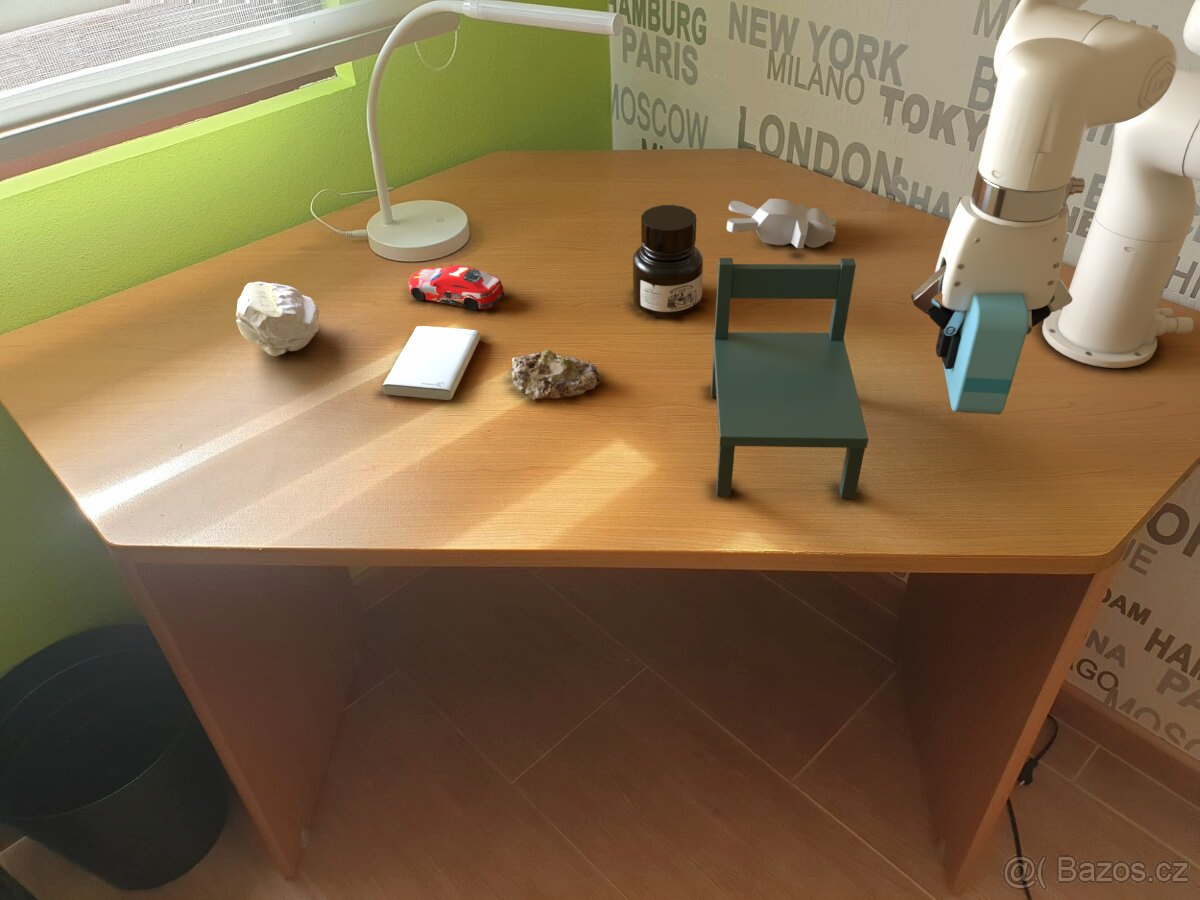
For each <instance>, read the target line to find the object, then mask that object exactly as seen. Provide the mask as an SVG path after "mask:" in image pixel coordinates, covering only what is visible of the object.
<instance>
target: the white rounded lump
mask: <svg viewBox="0 0 1200 900" xmlns="http://www.w3.org/2000/svg"><path fill="white" fill-rule="evenodd" d="M236 305H237V306H236V313H235V316H236V317H235V318H236V320H235V323H236V325H237V327H238V330H239V332H240V334H241V335H242V337H243V338H244V340H246V341H247V342H249V343H252V344H256V345H258V347H259V348H260V349H261V350H263V352H266V354H268V355H270V356H273V357H277V356H281V355H284V354H285V353H287V352H288V351H289V352H295V351H297V352H298V351H299V350H301V349H303V348H305V347H306V346H307V345H308V344H309V343H310V342H311V340H312V339H313V337H314V336H316V333H318V332H319V330H320V327H319V323H318V321H319V315H320V309H319V308H318V306H317V304H316V303H315V302H314V301H313V299H312V297H310V296H307V295H304V294H302V293H301V292H300V290H298V289H297V288H296V287H294V286H293V287H292V286H289V285H285V284H281V283H275V282H273V283H268V282H265V281H255V282H249V283H247V284H246V285H245V286H244V288H243V290H242V292H241V295H240V296H239V298H238V299H237V304H236Z"/></svg>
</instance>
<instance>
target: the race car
mask: <svg viewBox="0 0 1200 900" xmlns="http://www.w3.org/2000/svg"><path fill="white" fill-rule="evenodd" d="M407 284H408V285H407V286H408V289H409V294H410V295H411V296H412V297H413V298H414V299H415V300H417V301H419V302H422V301H424V300H426V301H432V302H437V303H442V304H448V305H454V306H459V307H466V308H467V309H468V310H469V311H473V312H474V311H476V310H477V309H479V310H483V309H488V308H492V307H494V306H496V305H497V303H498V302H499V301H500V300H501V299H502V297H503V296H505V293H504V292H505V291H504V285H503V283H502V281H501V279H500V278H499V277H498V276H495V275H493V274H490V273H488V272H485V271H482V270H481V269H480V270H479V269H476V268H473V267H471V266H464V265H459V264H458V265H453V264H450V265H449V266H447V267H428V268H423V269H420V270H418V271H416V272H414V273H412V274H411V275H410V277H409V279H408V283H407Z"/></svg>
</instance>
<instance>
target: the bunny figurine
mask: <svg viewBox="0 0 1200 900" xmlns="http://www.w3.org/2000/svg"><path fill="white" fill-rule="evenodd" d="M728 210H729V211H730V212H733V213H737V214H740V215H744V216H746V217H747V216H748V217H747V218H746V217H732V218H728V219H727V222H726V230H727V232H730V233H731V234H738V233H744V232H749V231H750V232H751V231H755V232H756V233H757V236H758V237H759V239H760V240H761V242H762V243H764V244H769V245H774V246H785V245H788V244H792V245H793V246H794V247H795V248H796V249H804V247H805V245H806V246H807V247H809V248H814V249H815V248H819V247H822V246H824V245H825V244H827V243H828V242H831V243H833V242H834V239H835V236H836V220H835V219H834V218H830V216H829V215H828V213H827V212H826V211H824V210H823V209H821V208H817V207H812V208H810V209H809V208H808V207H807V204H804V203H801V202H800V203H799V204H797V205H796V204H795V203H793V202H792V201H791V200H786V199H783V198H782V199H781V198H769V199H767V200H766V201H765V202H764V203H763V204H762V205H761V206H760V207H759V208H756V207H754V206H753V205H749V204H747V203H744V202H742V201H740V200H732V201H730V202H729V203H728Z"/></svg>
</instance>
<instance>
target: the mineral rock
mask: <svg viewBox="0 0 1200 900" xmlns="http://www.w3.org/2000/svg"><path fill="white" fill-rule="evenodd" d="M511 365H512V367H511V368H510V375H511V379H512V382H513V383H512V384H513V386H514V388H515V389H516V390H519V392H520V393H523V394H524V395H526V396H528V397H529V398H530V399H531V400H537V399H546V398H548V399H553V400H554V399H560V398H565V397H568V398H570V397H574V396H575V397H576V396H577V397H578V396H581V395H582V394H585V392H586V391H587V390H588V391H590V390H594V389H595V387H596V386H599V384H600V383H601V380H602V378H600V376H601V375H600V373H599V372H598V369H597V366H596V365H595V364H593V363H591V361H585V360H583V359H578V358H576V357H575V356H566V357H563V356H562V355H561V354H556V353H555V352H553V351H552V350H550V349H545V350H542V351H541V352H534V353H530V354H529V355H522V356H520V357H519V356H516V357H512V358H511Z"/></svg>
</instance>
